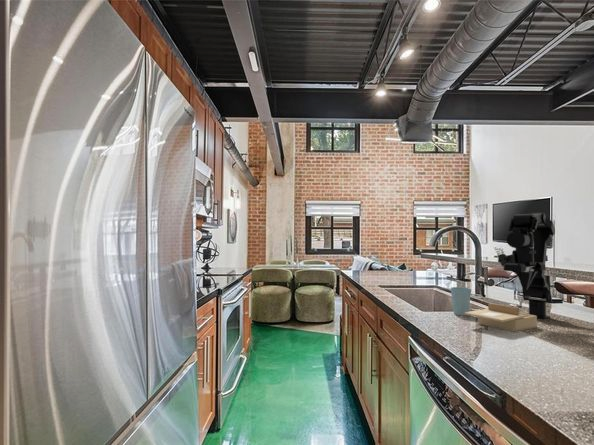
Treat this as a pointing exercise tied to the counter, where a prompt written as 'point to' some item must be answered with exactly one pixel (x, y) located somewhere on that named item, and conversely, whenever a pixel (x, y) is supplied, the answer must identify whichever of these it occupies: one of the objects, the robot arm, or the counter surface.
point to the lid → (497, 313)
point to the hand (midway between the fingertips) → (525, 290)
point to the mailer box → (511, 323)
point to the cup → (460, 300)
